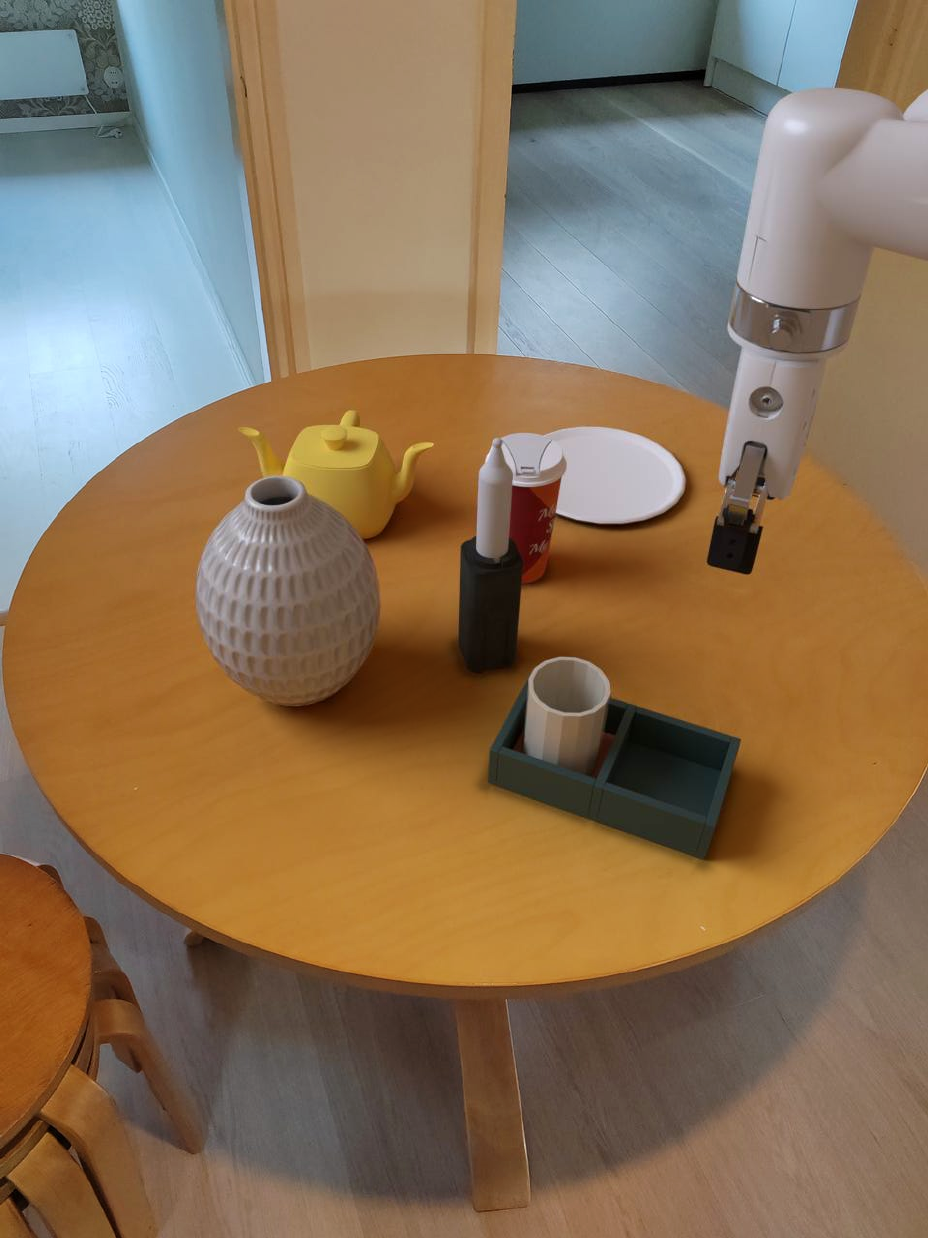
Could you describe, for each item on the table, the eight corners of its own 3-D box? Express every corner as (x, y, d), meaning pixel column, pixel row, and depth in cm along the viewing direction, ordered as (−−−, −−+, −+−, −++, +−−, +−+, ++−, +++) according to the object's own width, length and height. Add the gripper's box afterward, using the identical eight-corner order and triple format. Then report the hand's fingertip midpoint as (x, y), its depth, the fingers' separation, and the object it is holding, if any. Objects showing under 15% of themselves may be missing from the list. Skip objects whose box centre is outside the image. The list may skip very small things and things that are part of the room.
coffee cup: (557, 592, 106) (570, 475, 96) (480, 590, 106) (485, 473, 96) (553, 543, 112) (565, 429, 102) (481, 541, 112) (485, 427, 102)
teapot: (444, 475, 121) (444, 397, 114) (425, 553, 110) (424, 472, 103) (270, 460, 123) (259, 382, 116) (233, 536, 112) (219, 455, 104)
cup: (607, 740, 90) (620, 671, 84) (584, 795, 85) (595, 726, 79) (537, 717, 92) (545, 647, 85) (511, 769, 87) (516, 700, 81)
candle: (469, 674, 96) (476, 459, 79) (455, 639, 100) (460, 426, 83) (518, 665, 97) (536, 450, 81) (503, 631, 101) (517, 418, 84)
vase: (294, 773, 87) (264, 582, 72) (180, 684, 95) (132, 494, 80) (418, 675, 96) (415, 487, 81) (305, 601, 104) (283, 416, 89)
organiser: (730, 772, 88) (741, 738, 85) (704, 860, 81) (715, 827, 78) (528, 705, 94) (531, 671, 91) (487, 783, 87) (489, 749, 84)
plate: (679, 439, 129) (681, 431, 128) (689, 537, 113) (691, 528, 112) (520, 427, 130) (521, 419, 129) (509, 522, 115) (509, 514, 114)
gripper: (835, 386, 55) (773, 614, 67) (868, 268, 67) (810, 479, 78) (702, 362, 57) (664, 586, 69) (757, 252, 69) (716, 459, 81)
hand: (742, 529), depth 74 cm, fingers open, 9 cm apart
